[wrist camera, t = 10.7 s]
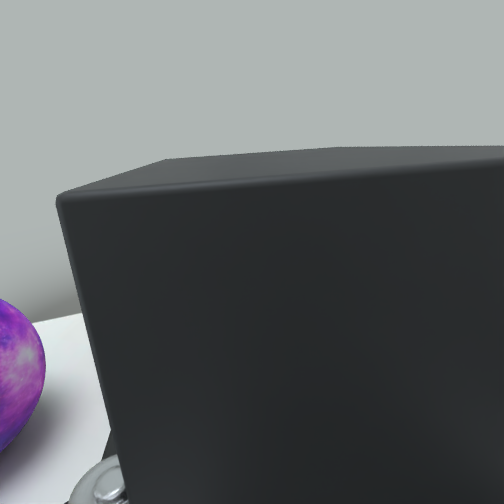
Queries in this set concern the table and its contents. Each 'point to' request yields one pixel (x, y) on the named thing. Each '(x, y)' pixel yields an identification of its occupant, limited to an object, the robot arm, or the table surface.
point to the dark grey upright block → (299, 324)
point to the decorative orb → (18, 371)
